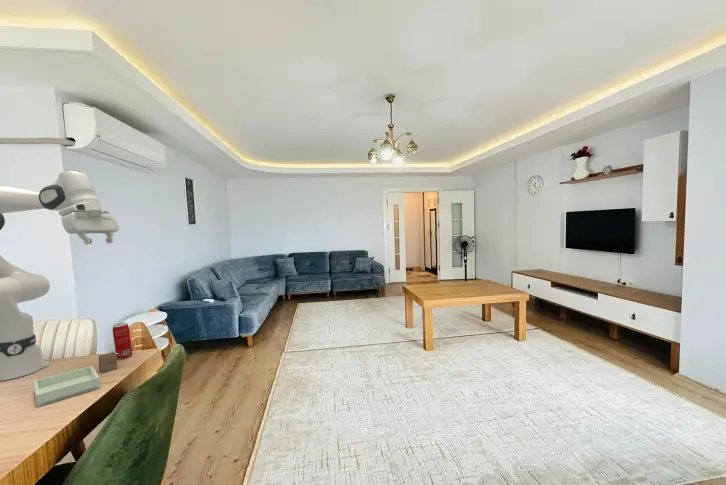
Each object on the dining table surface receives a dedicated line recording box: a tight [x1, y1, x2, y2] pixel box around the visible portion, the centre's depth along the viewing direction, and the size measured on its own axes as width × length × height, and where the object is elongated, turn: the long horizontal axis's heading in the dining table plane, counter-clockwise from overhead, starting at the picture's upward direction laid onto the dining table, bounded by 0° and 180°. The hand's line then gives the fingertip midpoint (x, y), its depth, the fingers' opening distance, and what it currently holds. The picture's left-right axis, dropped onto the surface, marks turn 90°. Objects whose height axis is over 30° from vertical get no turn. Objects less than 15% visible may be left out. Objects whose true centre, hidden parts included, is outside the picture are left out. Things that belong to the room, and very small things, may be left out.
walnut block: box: [98, 351, 118, 374], centre depth 127 cm, size 5×5×6 cm
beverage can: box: [112, 322, 133, 360], centre depth 140 cm, size 6×6×15 cm
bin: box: [33, 365, 101, 408], centre depth 111 cm, size 16×16×4 cm
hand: (100, 243), depth 123 cm, fingers open, 8 cm apart
